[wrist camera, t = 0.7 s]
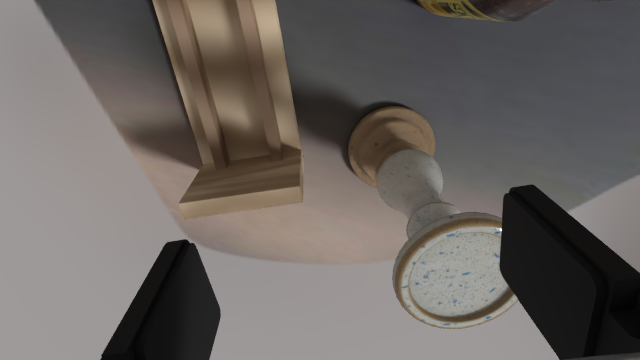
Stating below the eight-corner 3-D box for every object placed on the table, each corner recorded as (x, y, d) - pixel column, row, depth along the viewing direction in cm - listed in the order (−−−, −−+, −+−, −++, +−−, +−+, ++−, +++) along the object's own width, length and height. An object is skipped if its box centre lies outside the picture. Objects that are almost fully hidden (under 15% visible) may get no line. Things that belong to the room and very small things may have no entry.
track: (133, -76, 29) (67, -105, 21) (257, -97, 29) (238, -135, 21) (209, 173, 39) (184, 219, 31) (303, 160, 39) (302, 202, 31)
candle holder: (445, 159, 39) (567, 299, 21) (372, 198, 41) (424, 358, 23) (410, 88, 36) (518, 179, 17) (331, 133, 38) (355, 260, 19)
